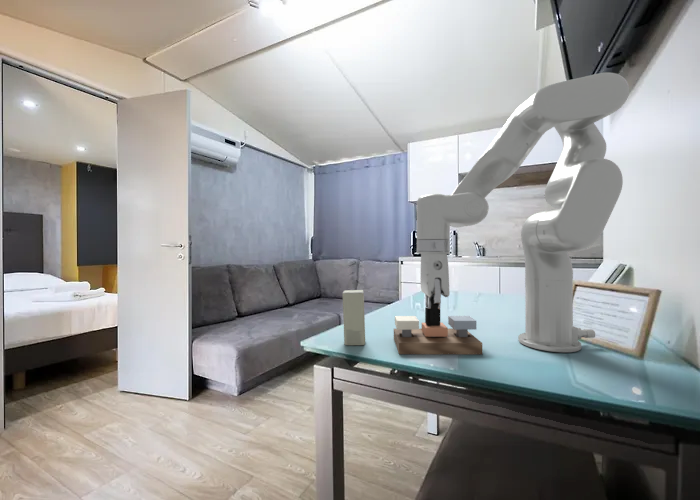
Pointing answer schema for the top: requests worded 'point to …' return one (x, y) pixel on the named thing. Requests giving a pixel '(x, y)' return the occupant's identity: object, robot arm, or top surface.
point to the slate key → (462, 324)
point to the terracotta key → (435, 330)
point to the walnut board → (436, 343)
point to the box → (353, 317)
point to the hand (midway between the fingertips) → (432, 324)
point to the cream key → (406, 324)
